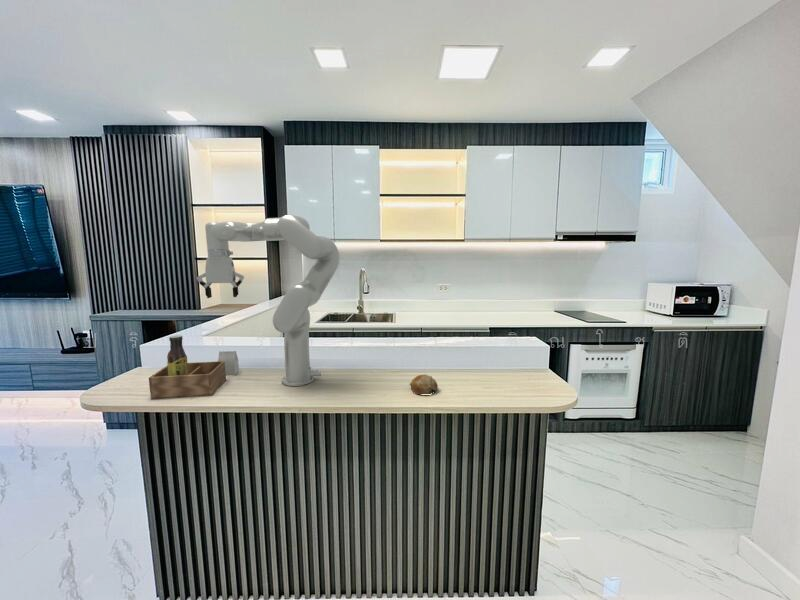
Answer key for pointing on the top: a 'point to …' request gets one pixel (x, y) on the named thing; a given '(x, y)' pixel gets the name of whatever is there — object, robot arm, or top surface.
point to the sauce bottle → (177, 357)
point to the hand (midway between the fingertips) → (222, 297)
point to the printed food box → (229, 362)
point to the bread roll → (423, 384)
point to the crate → (188, 381)
